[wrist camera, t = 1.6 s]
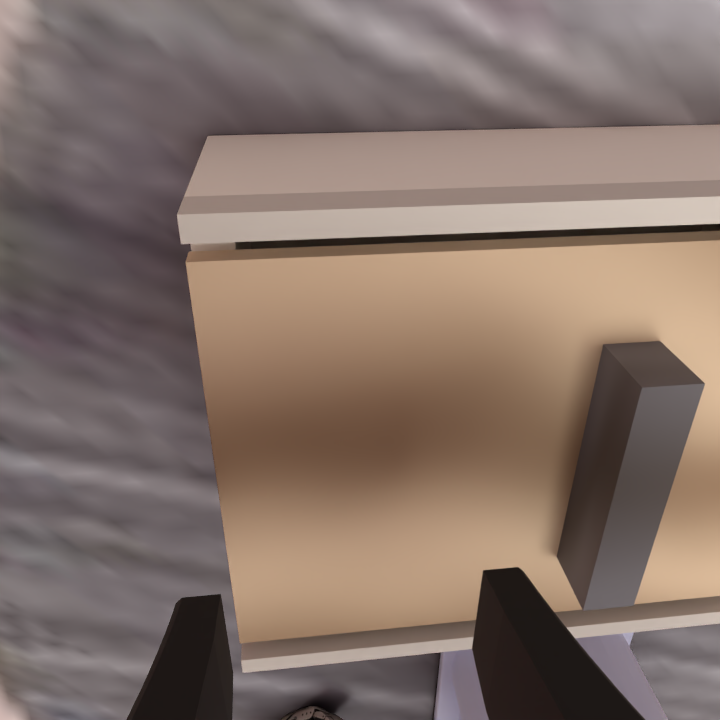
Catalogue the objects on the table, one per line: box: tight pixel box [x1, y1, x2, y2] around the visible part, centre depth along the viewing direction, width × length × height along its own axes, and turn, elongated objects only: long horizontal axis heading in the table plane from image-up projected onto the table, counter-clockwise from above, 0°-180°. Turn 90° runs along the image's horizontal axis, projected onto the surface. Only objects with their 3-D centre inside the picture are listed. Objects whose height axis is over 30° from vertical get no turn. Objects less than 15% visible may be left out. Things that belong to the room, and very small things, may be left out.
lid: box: [186, 231, 720, 643], centre depth 14 cm, size 10×14×2 cm
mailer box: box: [177, 124, 720, 673], centre depth 17 cm, size 12×14×6 cm
